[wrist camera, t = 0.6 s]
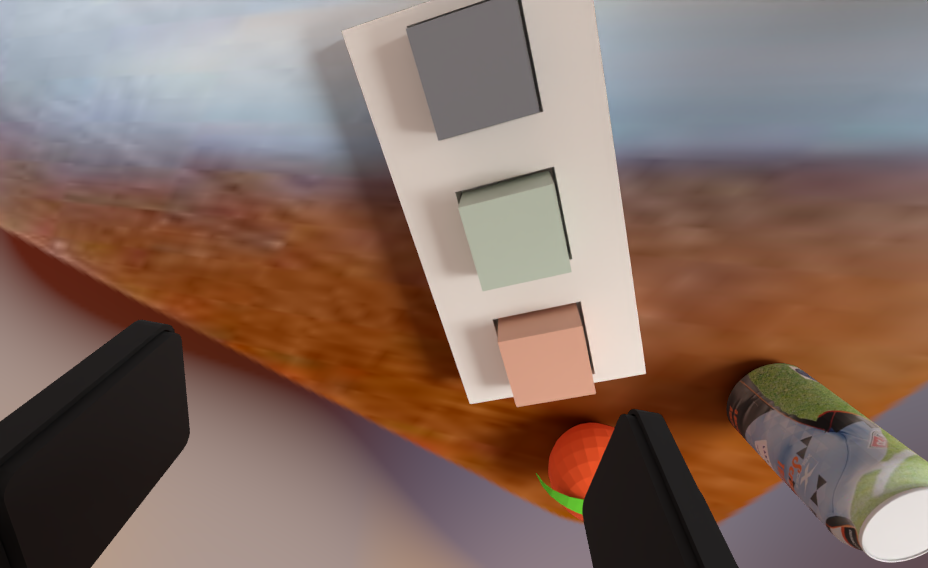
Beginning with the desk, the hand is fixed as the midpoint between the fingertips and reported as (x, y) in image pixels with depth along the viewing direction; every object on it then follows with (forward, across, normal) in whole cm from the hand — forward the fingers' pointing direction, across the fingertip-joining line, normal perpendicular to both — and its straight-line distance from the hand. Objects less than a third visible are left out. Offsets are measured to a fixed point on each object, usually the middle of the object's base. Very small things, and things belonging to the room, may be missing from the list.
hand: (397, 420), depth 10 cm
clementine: (+21, -13, +18) cm, 31 cm away
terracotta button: (+19, -8, +9) cm, 22 cm away
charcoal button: (+19, 0, -7) cm, 20 cm away
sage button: (+19, -4, +1) cm, 19 cm away
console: (+21, -4, +1) cm, 21 cm away
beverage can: (+21, -25, +10) cm, 34 cm away
